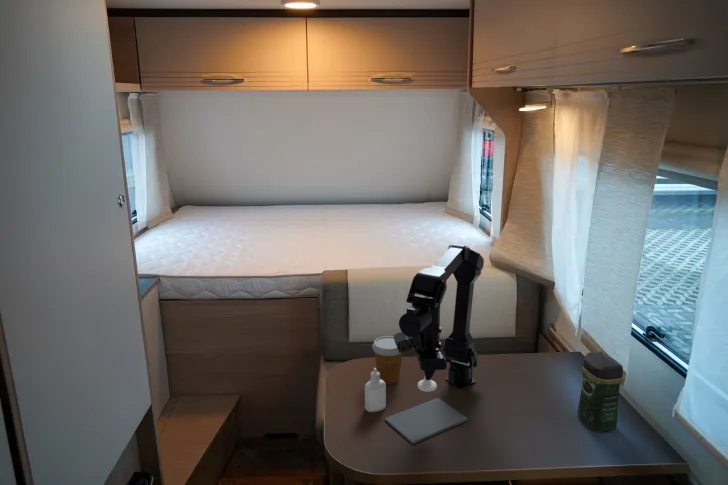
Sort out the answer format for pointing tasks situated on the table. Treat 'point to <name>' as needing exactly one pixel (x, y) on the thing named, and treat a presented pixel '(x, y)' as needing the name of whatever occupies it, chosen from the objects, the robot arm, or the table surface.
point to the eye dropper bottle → (375, 393)
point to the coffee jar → (600, 392)
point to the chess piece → (427, 385)
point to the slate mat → (425, 420)
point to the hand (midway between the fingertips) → (427, 377)
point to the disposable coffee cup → (387, 359)
